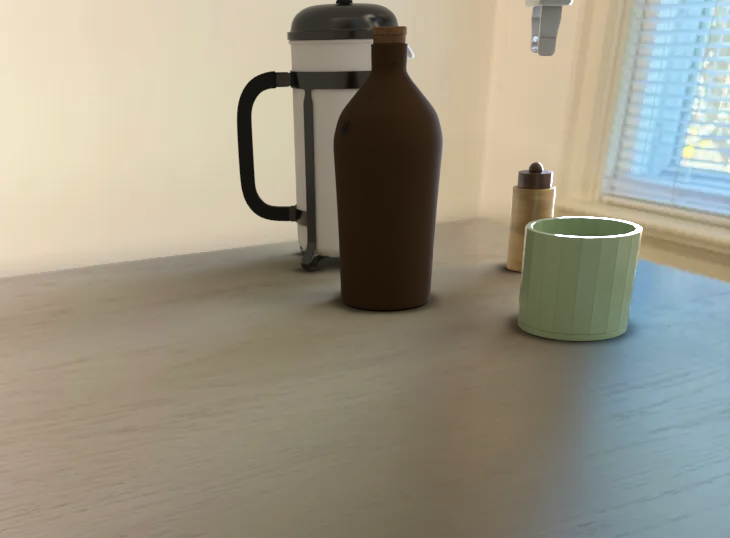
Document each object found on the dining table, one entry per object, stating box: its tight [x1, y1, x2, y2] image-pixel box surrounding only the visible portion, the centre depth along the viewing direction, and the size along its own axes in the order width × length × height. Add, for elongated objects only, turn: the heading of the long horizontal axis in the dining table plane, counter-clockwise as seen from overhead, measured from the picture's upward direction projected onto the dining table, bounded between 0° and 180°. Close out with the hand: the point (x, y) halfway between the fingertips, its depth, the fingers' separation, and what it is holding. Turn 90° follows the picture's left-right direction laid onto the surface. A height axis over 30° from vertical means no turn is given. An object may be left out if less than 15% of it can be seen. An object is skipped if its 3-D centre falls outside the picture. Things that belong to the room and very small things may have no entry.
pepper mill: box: [505, 161, 557, 273], centre depth 102 cm, size 5×5×12 cm
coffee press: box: [236, 0, 415, 272], centre depth 103 cm, size 17×16×30 cm
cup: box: [517, 216, 644, 342], centre depth 82 cm, size 10×10×9 cm
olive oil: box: [333, 25, 444, 311], centre depth 88 cm, size 11×11×25 cm
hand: (541, 54), depth 100 cm, fingers open, 8 cm apart
